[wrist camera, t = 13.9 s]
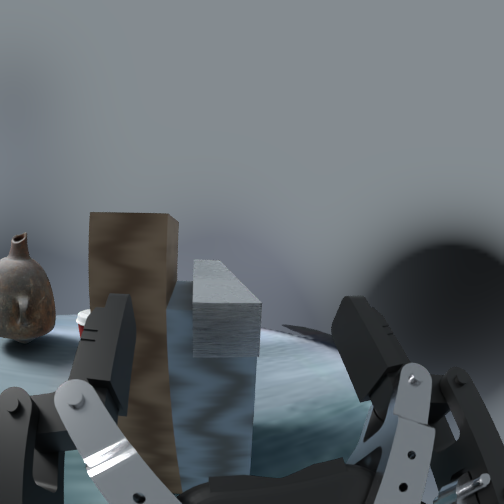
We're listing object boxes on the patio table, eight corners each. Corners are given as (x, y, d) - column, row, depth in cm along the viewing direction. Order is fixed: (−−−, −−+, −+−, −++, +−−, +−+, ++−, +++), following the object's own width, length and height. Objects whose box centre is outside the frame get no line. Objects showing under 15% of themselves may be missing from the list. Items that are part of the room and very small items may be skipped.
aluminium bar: (193, 357, 14) (192, 302, 14) (193, 281, 40) (194, 259, 40) (258, 356, 15) (261, 302, 15) (218, 281, 41) (219, 260, 40)
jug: (-20, 339, 51) (-29, 232, 50) (32, 326, 72) (27, 232, 70) (16, 368, 45) (2, 232, 43) (76, 345, 66) (71, 233, 64)
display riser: (126, 489, 24) (90, 212, 22) (140, 421, 39) (129, 220, 38) (248, 491, 27) (263, 217, 25) (231, 423, 42) (236, 224, 41)
